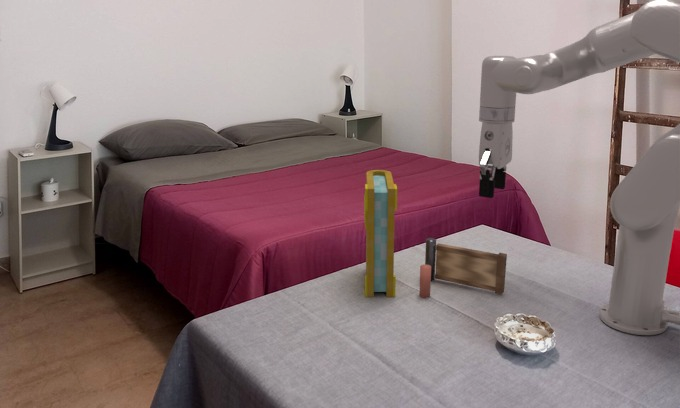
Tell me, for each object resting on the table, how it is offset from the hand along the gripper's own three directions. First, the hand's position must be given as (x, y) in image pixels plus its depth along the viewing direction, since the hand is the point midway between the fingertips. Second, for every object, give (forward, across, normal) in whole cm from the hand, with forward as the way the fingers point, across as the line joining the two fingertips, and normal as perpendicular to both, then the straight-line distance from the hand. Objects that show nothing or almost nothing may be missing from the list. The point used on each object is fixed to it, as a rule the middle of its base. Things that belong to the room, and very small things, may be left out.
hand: (492, 192), depth 139 cm
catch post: (+22, -14, +10) cm, 28 cm away
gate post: (+22, -6, +12) cm, 25 cm away
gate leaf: (+21, -6, +2) cm, 22 cm away
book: (+22, -13, +22) cm, 34 cm away
